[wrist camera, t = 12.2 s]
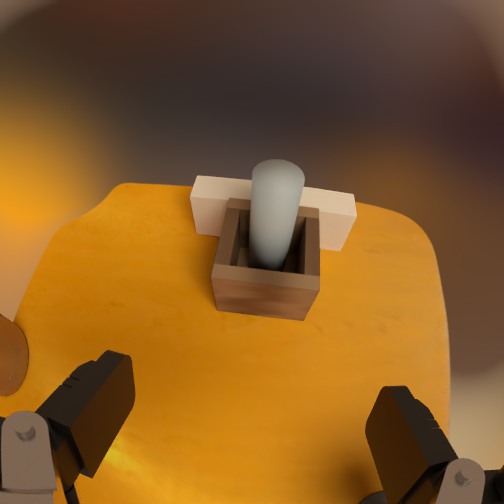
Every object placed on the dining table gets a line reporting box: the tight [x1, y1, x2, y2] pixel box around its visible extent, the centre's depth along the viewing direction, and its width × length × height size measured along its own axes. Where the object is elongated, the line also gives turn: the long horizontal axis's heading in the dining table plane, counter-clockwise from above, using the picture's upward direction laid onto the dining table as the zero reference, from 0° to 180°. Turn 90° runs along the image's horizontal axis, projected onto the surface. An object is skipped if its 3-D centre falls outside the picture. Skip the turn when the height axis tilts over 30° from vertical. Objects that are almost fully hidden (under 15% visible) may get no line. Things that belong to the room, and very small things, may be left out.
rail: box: [190, 176, 357, 251], centre depth 30 cm, size 16×3×6 cm, turn 83°
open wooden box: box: [211, 198, 320, 321], centre depth 27 cm, size 8×8×7 cm
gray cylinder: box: [248, 159, 305, 272], centre depth 25 cm, size 4×4×12 cm
